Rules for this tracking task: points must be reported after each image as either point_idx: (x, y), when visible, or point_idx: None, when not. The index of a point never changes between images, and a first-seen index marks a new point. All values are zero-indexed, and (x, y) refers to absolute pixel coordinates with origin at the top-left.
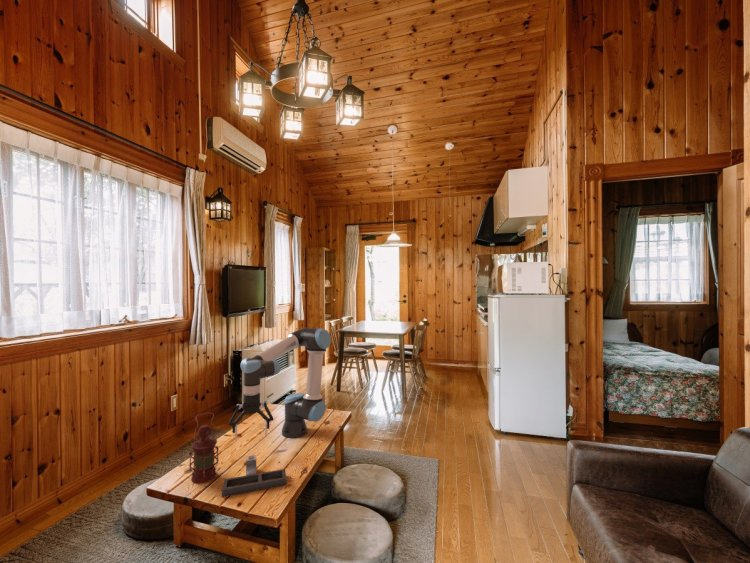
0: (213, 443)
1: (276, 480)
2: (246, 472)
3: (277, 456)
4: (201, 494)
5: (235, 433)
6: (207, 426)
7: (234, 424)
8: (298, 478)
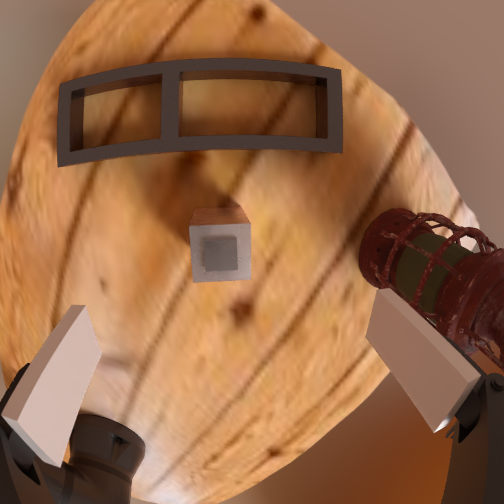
0: (468, 299)
1: (97, 73)
2: (240, 209)
3: (119, 329)
4: (395, 132)
5: (427, 326)
6: None
7: (500, 393)
8: (31, 133)
